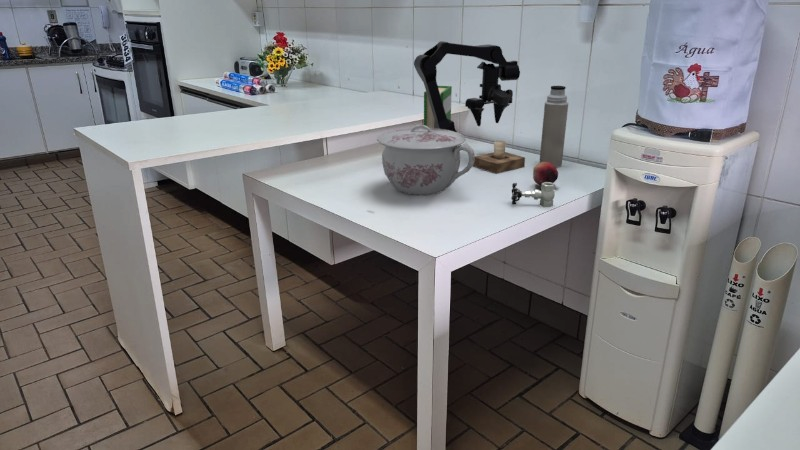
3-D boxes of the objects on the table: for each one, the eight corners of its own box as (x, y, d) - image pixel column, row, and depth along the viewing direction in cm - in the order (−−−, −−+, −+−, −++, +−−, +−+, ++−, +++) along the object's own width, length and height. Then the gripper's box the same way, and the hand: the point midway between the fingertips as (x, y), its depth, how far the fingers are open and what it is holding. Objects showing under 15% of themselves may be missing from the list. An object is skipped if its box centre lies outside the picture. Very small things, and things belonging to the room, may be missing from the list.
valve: (551, 201, 164) (510, 200, 165) (553, 180, 161) (512, 179, 162) (555, 209, 158) (512, 208, 159) (557, 187, 155) (514, 186, 156)
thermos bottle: (537, 161, 205) (544, 84, 194) (559, 161, 204) (567, 84, 193) (540, 167, 197) (548, 87, 187) (563, 167, 196) (572, 87, 186)
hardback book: (442, 155, 213) (443, 92, 204) (423, 154, 215) (424, 92, 206) (450, 144, 229) (451, 86, 220) (432, 143, 231) (433, 85, 222)
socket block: (496, 173, 190) (497, 163, 189) (472, 166, 199) (473, 156, 198) (524, 166, 198) (525, 157, 196) (500, 159, 207) (500, 150, 205)
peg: (498, 168, 196) (500, 144, 192) (490, 166, 199) (491, 141, 196) (506, 166, 198) (508, 142, 195) (498, 164, 201) (499, 140, 198)
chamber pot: (367, 181, 183) (365, 119, 175) (442, 172, 192) (443, 113, 184) (396, 209, 159) (395, 138, 151) (480, 197, 168) (483, 130, 160)
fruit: (547, 182, 181) (549, 158, 178) (561, 188, 175) (564, 164, 172) (527, 184, 179) (529, 160, 176) (541, 191, 172) (543, 167, 169)
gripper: (487, 86, 187) (484, 131, 193) (525, 81, 197) (521, 124, 203) (465, 82, 195) (463, 126, 201) (502, 78, 205) (500, 120, 211)
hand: (488, 124), depth 204 cm, fingers open, 9 cm apart
